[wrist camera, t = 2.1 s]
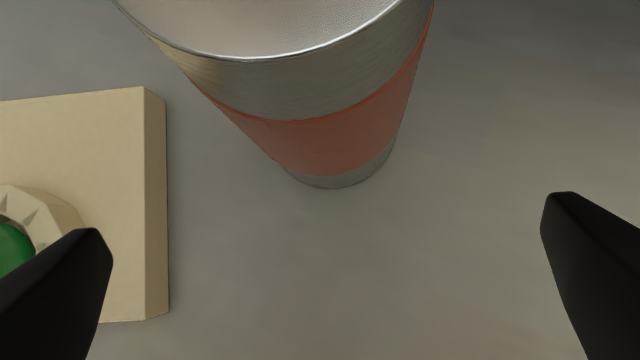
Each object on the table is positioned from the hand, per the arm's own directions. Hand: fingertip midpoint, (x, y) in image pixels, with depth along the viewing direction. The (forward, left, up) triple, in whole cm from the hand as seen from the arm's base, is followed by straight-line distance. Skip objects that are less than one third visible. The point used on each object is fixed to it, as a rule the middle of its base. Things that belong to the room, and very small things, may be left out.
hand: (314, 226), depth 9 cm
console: (+2, +14, -11) cm, 18 cm away
